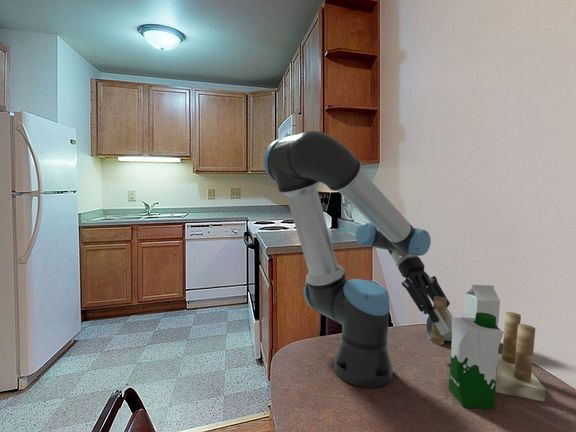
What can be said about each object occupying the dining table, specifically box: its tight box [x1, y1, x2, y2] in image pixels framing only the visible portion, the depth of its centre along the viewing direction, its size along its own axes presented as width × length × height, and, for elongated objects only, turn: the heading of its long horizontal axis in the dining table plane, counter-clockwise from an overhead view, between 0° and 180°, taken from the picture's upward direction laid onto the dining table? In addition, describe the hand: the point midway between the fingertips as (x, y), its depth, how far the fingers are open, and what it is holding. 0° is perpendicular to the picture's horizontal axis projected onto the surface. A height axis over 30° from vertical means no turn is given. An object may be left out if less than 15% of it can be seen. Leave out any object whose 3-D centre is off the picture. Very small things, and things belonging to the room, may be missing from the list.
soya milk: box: [448, 313, 504, 410], centre depth 74 cm, size 9×9×20 cm
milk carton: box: [463, 284, 501, 328], centre depth 104 cm, size 7×7×19 cm
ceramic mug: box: [425, 315, 452, 342], centre depth 107 cm, size 11×8×8 cm
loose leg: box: [430, 296, 448, 346], centre depth 92 cm, size 3×3×13 cm
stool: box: [496, 311, 547, 402], centre depth 83 cm, size 16×16×16 cm
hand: (450, 331), depth 89 cm, fingers closed on loose leg, 3 cm apart
